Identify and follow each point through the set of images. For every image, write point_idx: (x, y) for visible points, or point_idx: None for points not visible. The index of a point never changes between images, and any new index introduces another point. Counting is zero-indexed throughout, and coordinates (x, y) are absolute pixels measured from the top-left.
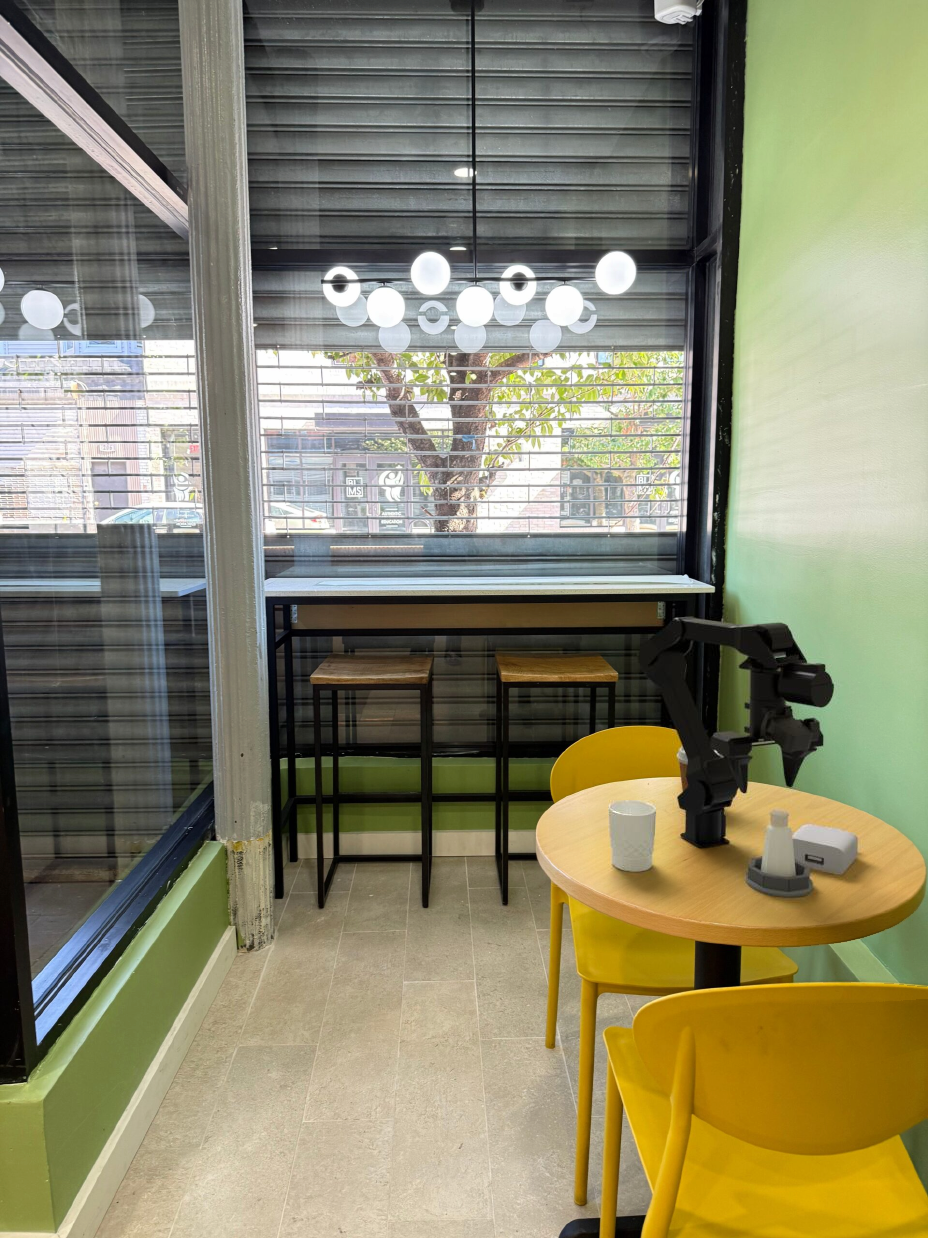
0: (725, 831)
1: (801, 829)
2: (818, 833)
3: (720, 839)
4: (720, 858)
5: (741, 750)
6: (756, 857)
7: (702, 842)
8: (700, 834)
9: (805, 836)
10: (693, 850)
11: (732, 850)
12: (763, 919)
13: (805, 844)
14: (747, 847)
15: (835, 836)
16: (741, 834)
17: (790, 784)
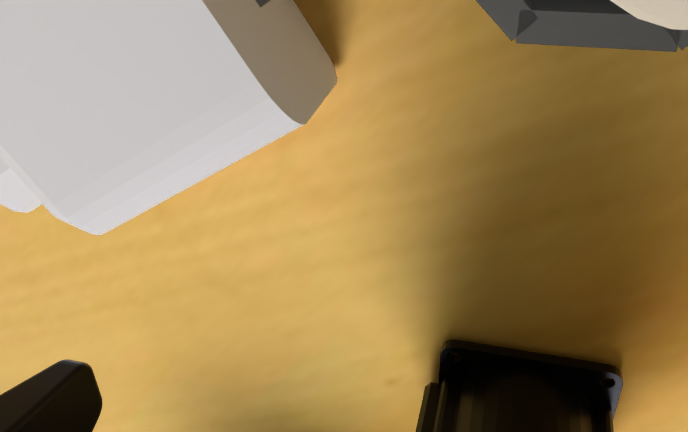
0: (427, 401)
1: (141, 186)
2: (83, 94)
3: (472, 375)
4: (622, 251)
5: None
6: (633, 46)
7: (581, 391)
8: (587, 429)
9: (181, 91)
10: (663, 368)
11: (485, 289)
12: None
13: (234, 23)
14: (393, 281)
15: (9, 13)
16: (321, 376)
17: (67, 385)
